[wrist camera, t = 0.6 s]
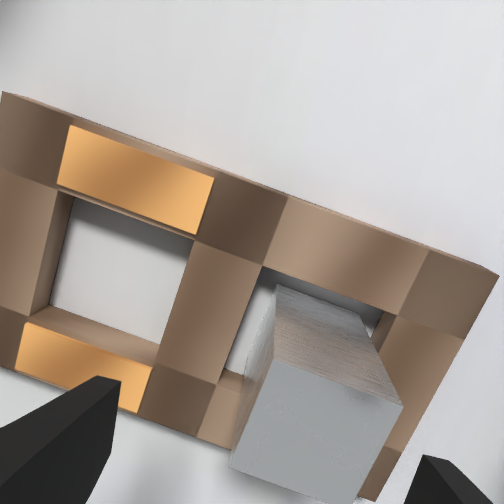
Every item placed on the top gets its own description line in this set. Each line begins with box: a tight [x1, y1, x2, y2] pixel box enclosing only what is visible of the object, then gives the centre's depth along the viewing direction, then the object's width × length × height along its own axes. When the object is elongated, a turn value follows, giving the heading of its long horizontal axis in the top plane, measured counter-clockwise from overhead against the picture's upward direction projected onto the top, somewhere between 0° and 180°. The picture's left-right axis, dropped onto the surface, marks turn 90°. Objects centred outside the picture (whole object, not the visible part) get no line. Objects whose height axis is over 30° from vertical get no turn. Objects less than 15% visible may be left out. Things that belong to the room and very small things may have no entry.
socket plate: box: [0, 91, 499, 502], centre depth 18 cm, size 21×12×2 cm, turn 70°
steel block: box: [229, 284, 404, 504], centre depth 15 cm, size 4×4×7 cm
